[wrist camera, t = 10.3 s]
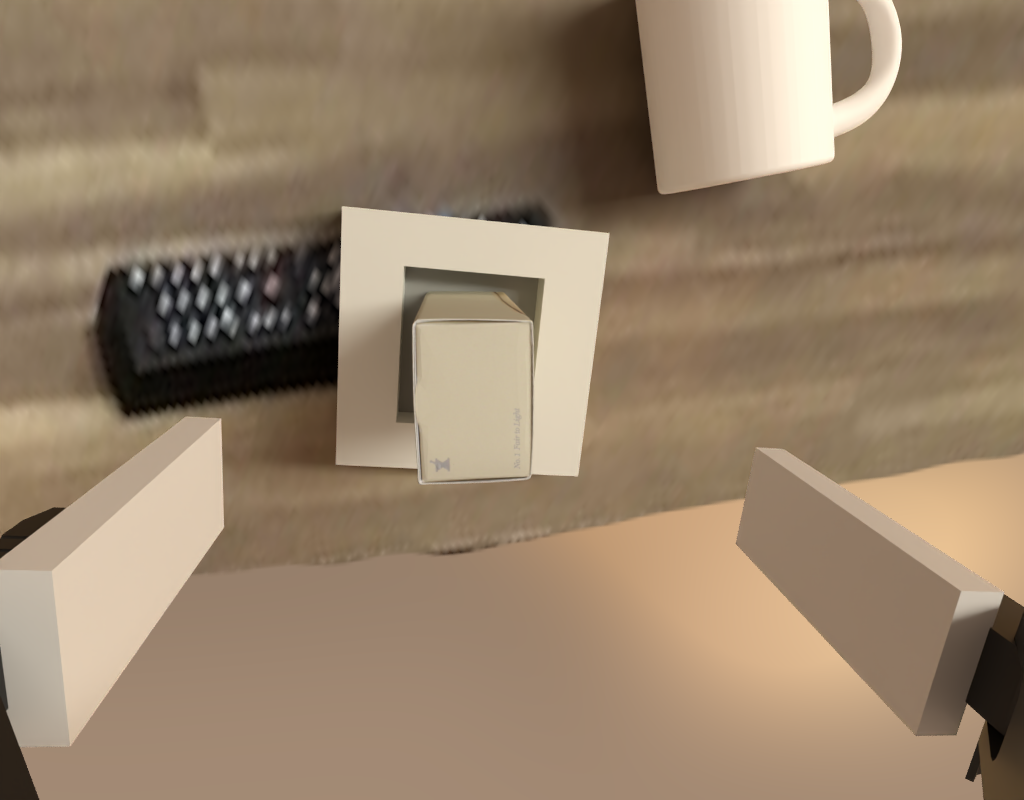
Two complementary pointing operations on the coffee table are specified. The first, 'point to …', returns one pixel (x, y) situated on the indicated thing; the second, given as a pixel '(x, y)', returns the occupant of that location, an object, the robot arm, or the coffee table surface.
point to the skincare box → (472, 388)
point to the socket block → (461, 267)
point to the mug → (751, 86)
